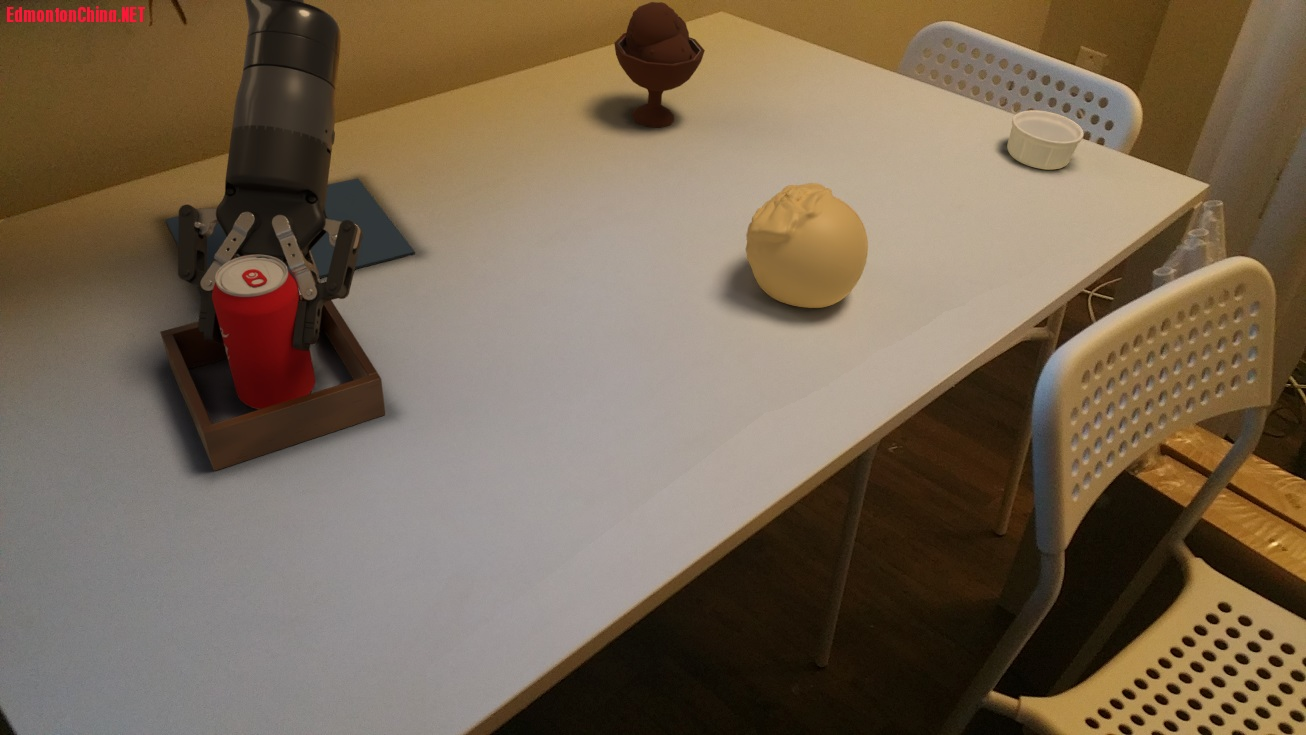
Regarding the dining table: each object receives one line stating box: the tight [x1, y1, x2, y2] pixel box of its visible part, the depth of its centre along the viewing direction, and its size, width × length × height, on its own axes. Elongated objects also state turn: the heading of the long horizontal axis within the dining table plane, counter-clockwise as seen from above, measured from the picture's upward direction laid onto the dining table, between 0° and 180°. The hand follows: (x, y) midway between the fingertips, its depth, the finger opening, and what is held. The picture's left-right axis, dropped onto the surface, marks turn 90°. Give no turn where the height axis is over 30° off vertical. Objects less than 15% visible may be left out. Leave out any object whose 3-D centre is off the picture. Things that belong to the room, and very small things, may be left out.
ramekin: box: [1006, 109, 1085, 171], centre depth 127 cm, size 9×9×4 cm
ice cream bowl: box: [613, 1, 706, 128], centre depth 122 cm, size 11×11×15 cm
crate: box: [160, 294, 386, 472], centre depth 81 cm, size 14×14×4 cm
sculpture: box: [745, 182, 869, 309], centre depth 97 cm, size 12×12×11 cm
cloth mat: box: [165, 177, 416, 295], centre depth 99 cm, size 20×16×1 cm
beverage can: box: [212, 255, 316, 410], centre depth 78 cm, size 6×6×12 cm
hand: (257, 345), depth 77 cm, fingers closed on beverage can, 6 cm apart
